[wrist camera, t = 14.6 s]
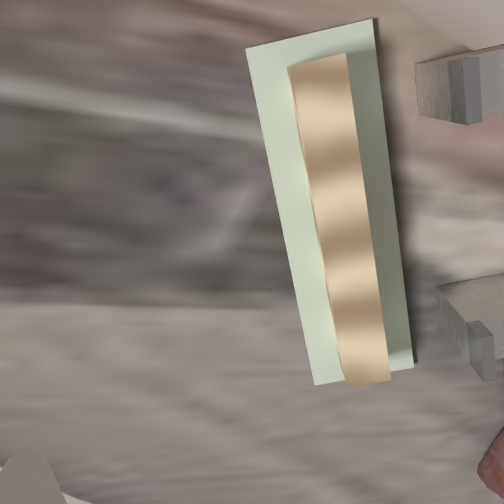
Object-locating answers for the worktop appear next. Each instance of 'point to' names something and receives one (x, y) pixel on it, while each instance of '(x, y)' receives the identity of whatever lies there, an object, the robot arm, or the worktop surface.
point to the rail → (341, 215)
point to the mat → (297, 193)
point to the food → (494, 466)
